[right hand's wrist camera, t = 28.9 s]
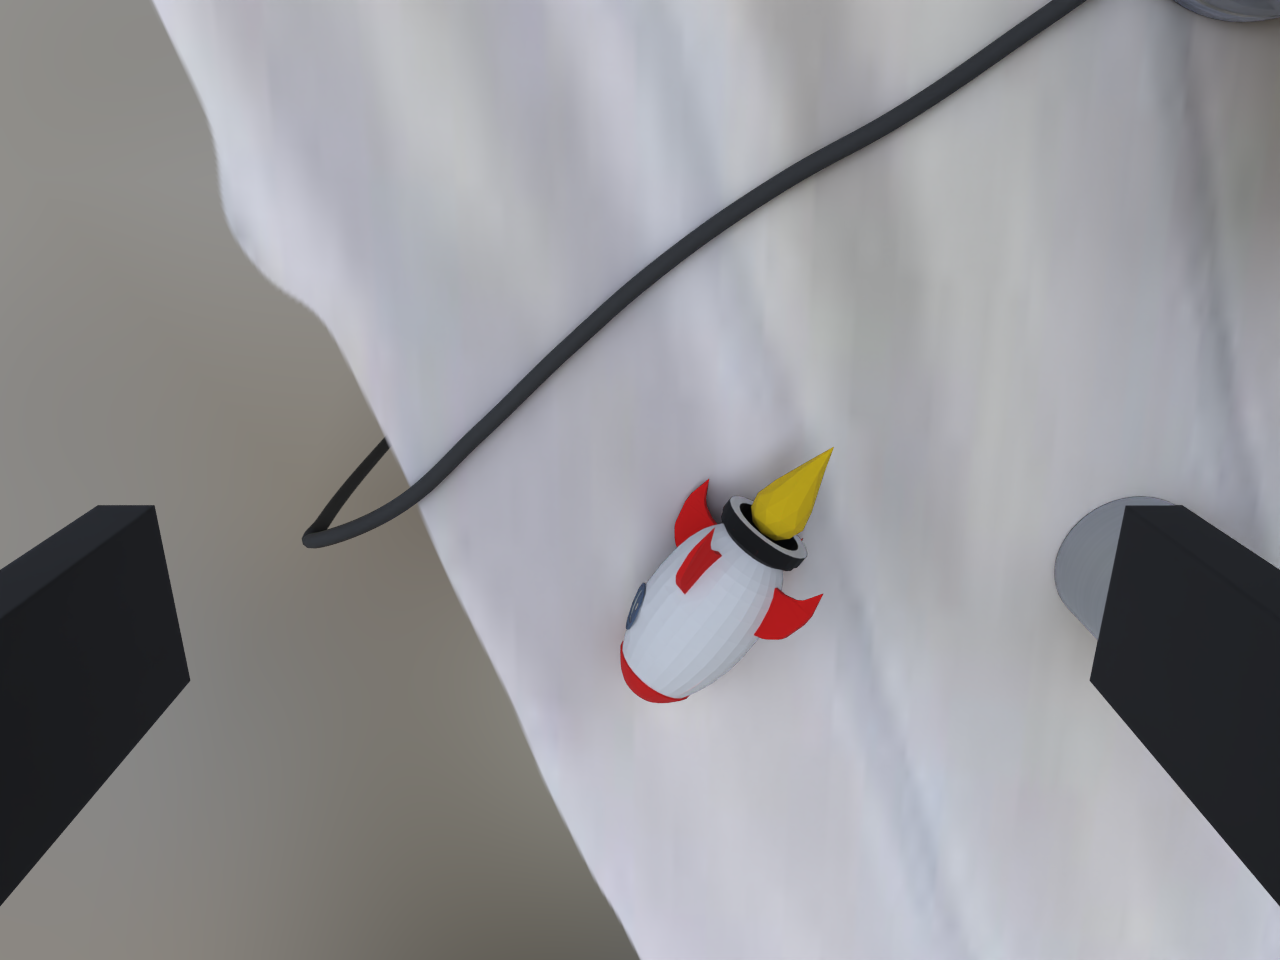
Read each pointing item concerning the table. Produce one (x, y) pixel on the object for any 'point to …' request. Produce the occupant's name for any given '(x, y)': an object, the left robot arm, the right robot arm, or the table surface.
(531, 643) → the table surface
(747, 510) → the toy rocket
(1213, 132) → the table surface
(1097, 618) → the canister
